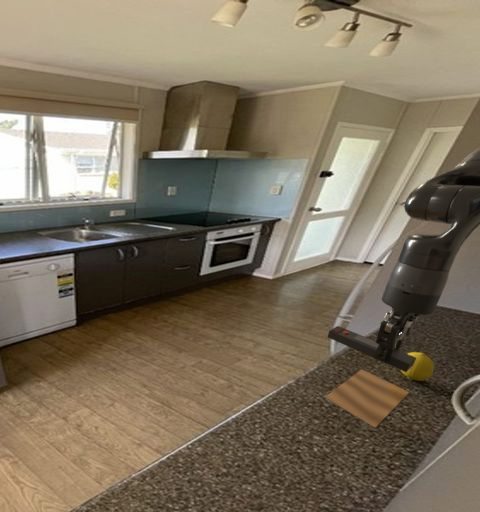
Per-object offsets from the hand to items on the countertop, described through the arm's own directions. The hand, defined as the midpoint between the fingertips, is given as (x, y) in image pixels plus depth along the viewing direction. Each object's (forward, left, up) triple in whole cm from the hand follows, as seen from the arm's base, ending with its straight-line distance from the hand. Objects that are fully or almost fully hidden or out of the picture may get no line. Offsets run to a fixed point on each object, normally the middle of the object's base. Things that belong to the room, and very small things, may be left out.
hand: (385, 356), depth 63 cm
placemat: (0, 0, -11) cm, 11 cm away
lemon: (-12, -12, -12) cm, 21 cm away
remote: (+2, -2, 0) cm, 3 cm away
